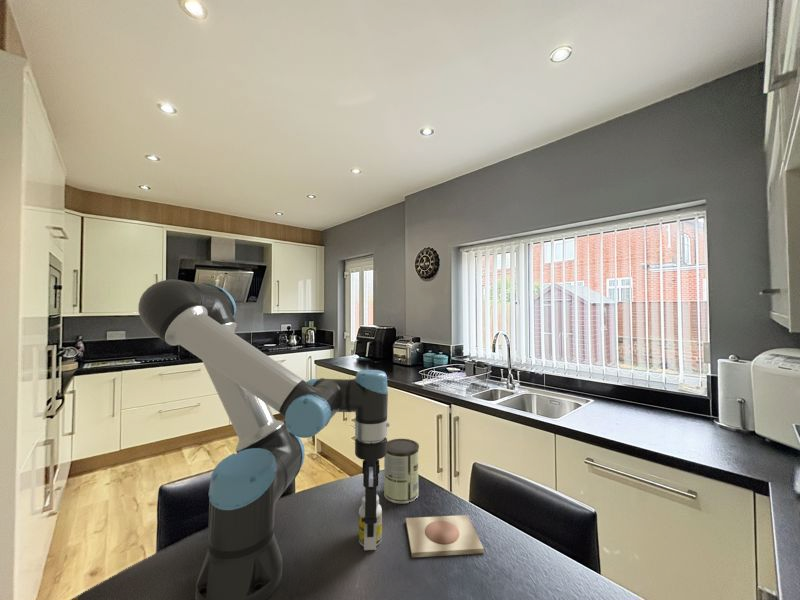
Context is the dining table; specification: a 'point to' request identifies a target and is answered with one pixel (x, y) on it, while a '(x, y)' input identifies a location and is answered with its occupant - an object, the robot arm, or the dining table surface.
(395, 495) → the coffee can
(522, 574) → the dining table surface
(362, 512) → the supplement bottle
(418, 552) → the board
